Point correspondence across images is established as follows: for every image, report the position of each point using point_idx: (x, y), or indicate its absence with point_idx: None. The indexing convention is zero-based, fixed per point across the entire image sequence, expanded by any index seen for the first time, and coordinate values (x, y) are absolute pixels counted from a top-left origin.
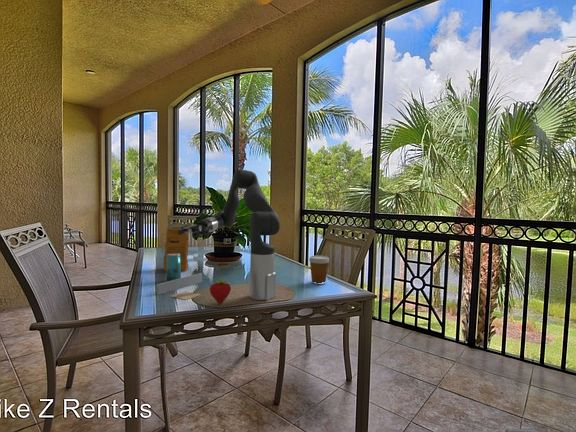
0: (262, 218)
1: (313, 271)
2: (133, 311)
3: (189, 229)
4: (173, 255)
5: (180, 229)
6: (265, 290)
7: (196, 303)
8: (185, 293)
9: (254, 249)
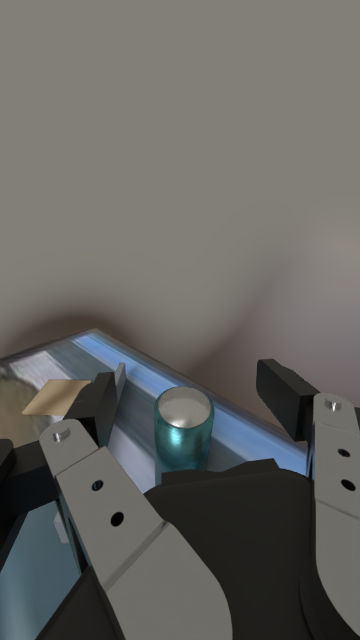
0: None
1: None
2: (105, 337)
3: (308, 466)
4: (167, 392)
5: (284, 368)
6: None
7: (20, 378)
8: (65, 401)
9: None
